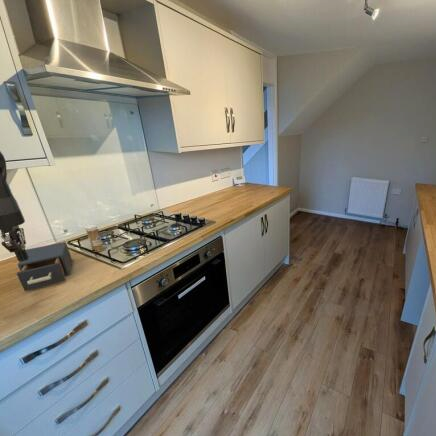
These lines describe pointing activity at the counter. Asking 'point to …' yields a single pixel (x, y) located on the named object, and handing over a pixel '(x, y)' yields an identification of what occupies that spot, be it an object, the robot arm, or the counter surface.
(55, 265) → the drawer
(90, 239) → the sprinkles bottle
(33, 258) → the cabinet
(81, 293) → the counter surface
